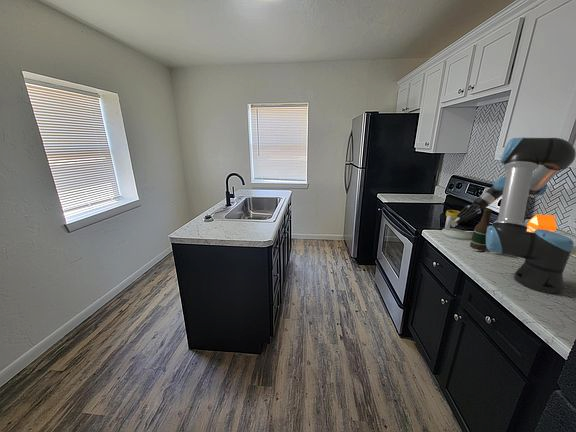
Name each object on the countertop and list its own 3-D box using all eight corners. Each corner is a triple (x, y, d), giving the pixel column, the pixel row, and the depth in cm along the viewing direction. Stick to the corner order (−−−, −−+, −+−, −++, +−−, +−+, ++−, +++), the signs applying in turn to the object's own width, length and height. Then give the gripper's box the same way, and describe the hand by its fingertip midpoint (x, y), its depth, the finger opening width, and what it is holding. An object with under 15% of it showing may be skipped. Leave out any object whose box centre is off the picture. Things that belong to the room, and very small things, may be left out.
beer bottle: (470, 250, 137) (481, 209, 130) (468, 245, 144) (478, 206, 137) (487, 253, 134) (499, 211, 127) (484, 248, 140) (495, 208, 133)
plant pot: (463, 227, 175) (467, 214, 172) (449, 226, 175) (452, 213, 172) (454, 222, 184) (457, 210, 181) (440, 222, 185) (443, 209, 182)
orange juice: (548, 251, 138) (560, 217, 132) (530, 249, 140) (541, 216, 134) (537, 245, 145) (549, 213, 139) (520, 244, 147) (531, 212, 141)
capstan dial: (477, 237, 152) (481, 221, 149) (460, 241, 146) (464, 224, 143) (452, 229, 166) (455, 214, 163) (435, 232, 160) (439, 217, 157)
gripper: (494, 207, 150) (461, 233, 155) (479, 202, 162) (449, 226, 168) (488, 199, 148) (454, 225, 154) (473, 194, 160) (442, 218, 166)
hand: (451, 225), depth 161 cm, fingers closed
